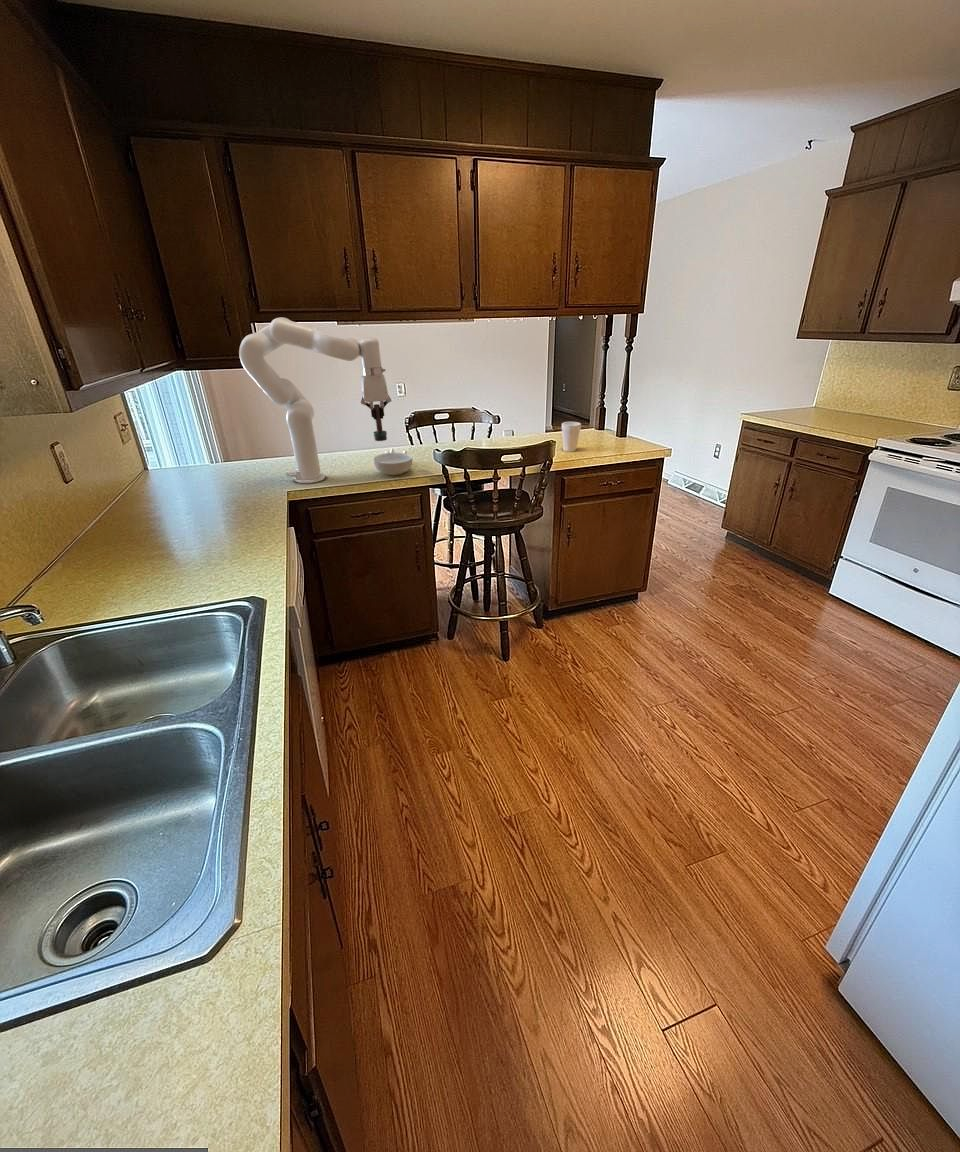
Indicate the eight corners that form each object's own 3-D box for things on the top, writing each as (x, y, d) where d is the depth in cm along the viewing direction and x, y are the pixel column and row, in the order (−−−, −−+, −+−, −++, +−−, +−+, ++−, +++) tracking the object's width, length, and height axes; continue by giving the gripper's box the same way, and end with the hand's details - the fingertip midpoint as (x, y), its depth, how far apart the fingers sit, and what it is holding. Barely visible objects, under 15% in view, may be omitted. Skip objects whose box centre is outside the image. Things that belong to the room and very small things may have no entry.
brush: (375, 441, 218) (370, 406, 211) (373, 438, 223) (368, 404, 216) (388, 440, 220) (384, 405, 213) (386, 437, 224) (382, 403, 217)
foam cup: (558, 447, 266) (559, 421, 259) (575, 447, 267) (577, 421, 260) (562, 452, 257) (564, 426, 251) (581, 451, 258) (583, 425, 252)
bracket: (404, 467, 241) (406, 451, 238) (389, 465, 238) (391, 449, 235) (398, 460, 252) (401, 445, 249) (384, 458, 249) (386, 442, 246)
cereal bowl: (374, 479, 223) (373, 463, 219) (375, 468, 237) (373, 453, 234) (414, 477, 225) (413, 461, 222) (412, 466, 239) (411, 451, 236)
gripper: (390, 369, 214) (395, 415, 222) (351, 372, 209) (357, 418, 218) (394, 371, 207) (398, 418, 216) (353, 374, 203) (360, 422, 212)
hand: (378, 418), depth 217 cm, fingers closed on brush, 2 cm apart
